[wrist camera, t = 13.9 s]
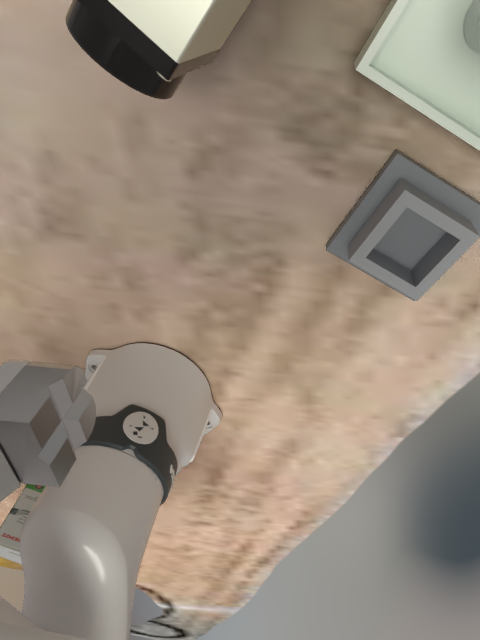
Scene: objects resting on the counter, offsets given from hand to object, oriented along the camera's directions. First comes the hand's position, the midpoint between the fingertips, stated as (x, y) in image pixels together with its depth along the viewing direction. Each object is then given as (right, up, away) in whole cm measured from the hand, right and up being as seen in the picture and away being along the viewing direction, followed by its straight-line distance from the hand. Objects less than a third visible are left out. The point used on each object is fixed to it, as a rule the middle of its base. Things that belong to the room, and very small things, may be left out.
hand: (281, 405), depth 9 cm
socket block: (+14, +10, +31) cm, 36 cm away
